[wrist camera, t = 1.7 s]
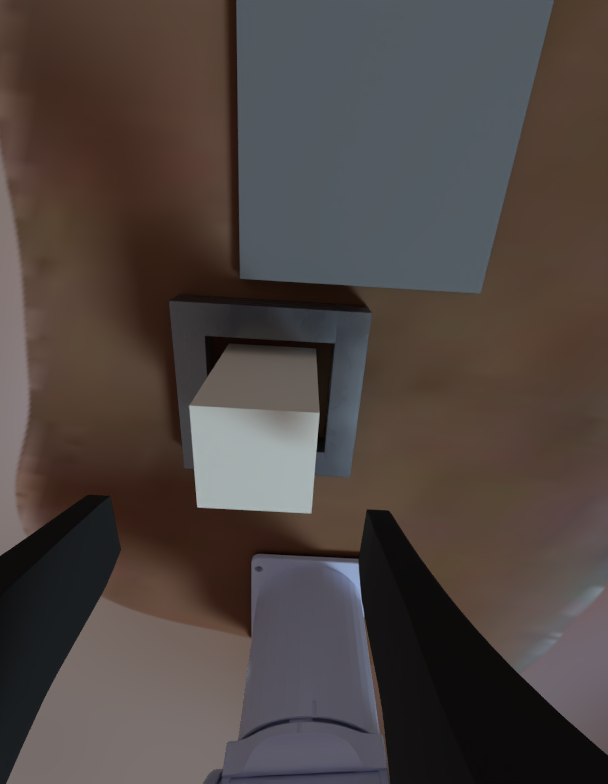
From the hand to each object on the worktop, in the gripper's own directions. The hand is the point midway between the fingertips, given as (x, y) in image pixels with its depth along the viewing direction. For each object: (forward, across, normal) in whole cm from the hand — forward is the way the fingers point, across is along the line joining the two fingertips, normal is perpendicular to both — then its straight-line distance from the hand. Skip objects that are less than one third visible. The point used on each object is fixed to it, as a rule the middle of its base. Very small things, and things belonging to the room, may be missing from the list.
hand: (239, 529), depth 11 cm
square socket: (+10, 0, 0) cm, 10 cm away
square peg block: (+10, 0, 0) cm, 10 cm away
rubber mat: (+10, -4, -11) cm, 16 cm away
